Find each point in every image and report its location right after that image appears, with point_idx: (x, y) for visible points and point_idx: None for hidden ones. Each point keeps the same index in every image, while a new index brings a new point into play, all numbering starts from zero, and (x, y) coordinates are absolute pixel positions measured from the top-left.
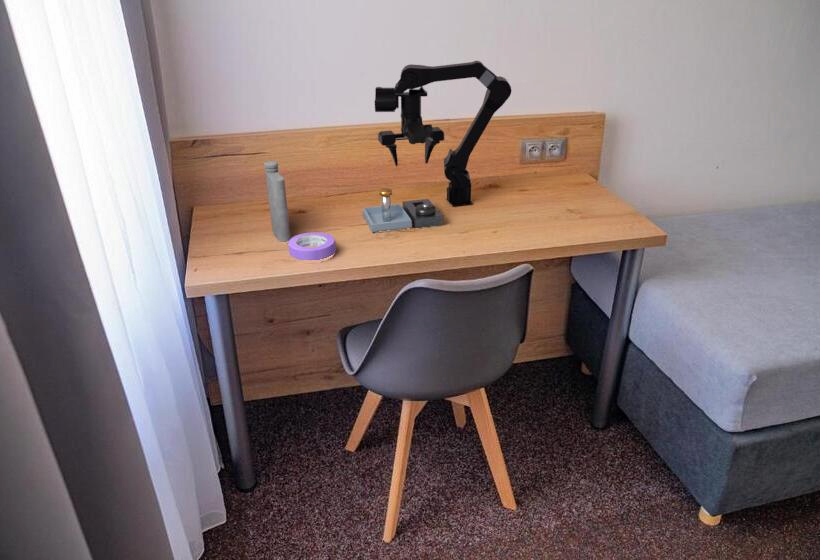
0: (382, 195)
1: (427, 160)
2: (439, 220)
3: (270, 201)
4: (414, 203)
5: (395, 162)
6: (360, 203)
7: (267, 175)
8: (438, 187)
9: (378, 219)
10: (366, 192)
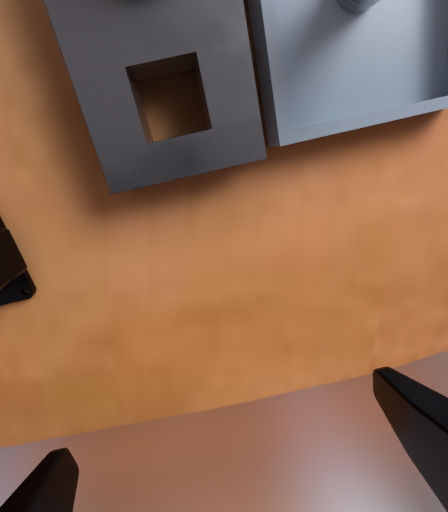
0: None
1: (31, 481)
2: None
3: None
4: (196, 133)
5: (430, 389)
6: (420, 262)
7: None
8: (88, 422)
9: (396, 11)
10: None
